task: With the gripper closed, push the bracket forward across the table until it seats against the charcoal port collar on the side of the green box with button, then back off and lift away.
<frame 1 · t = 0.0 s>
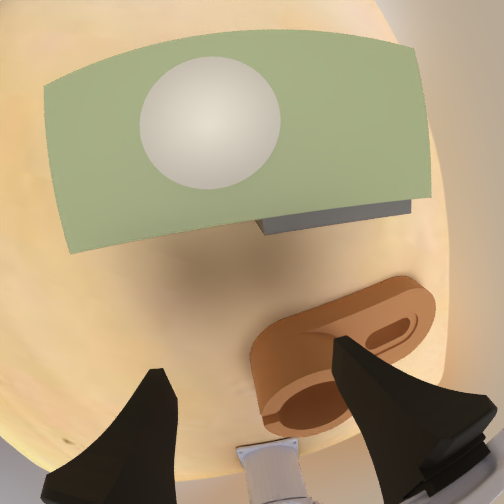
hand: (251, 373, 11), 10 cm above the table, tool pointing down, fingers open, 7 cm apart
green box with button: (242, 128, 17), on the table
bracket: (343, 331, 24), on the table
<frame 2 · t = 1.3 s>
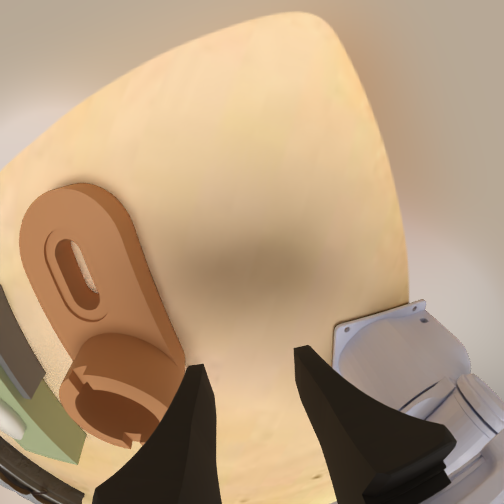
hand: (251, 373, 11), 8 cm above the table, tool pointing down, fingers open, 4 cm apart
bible: (28, 466, 29), on the table
green box with button: (11, 369, 19), on the table
bracket: (110, 302, 18), on the table
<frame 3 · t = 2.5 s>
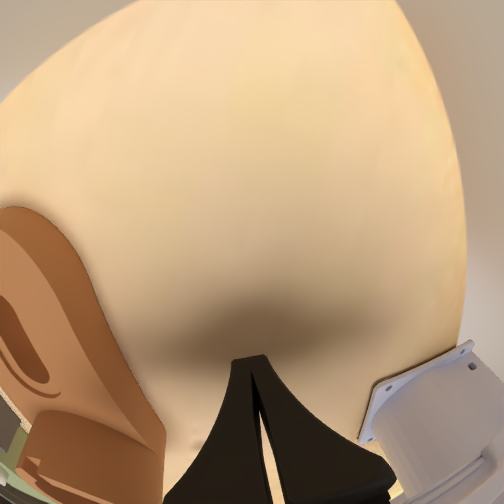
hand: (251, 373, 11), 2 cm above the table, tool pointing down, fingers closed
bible: (23, 487, 23), on the table
bracket: (69, 364, 12), on the table
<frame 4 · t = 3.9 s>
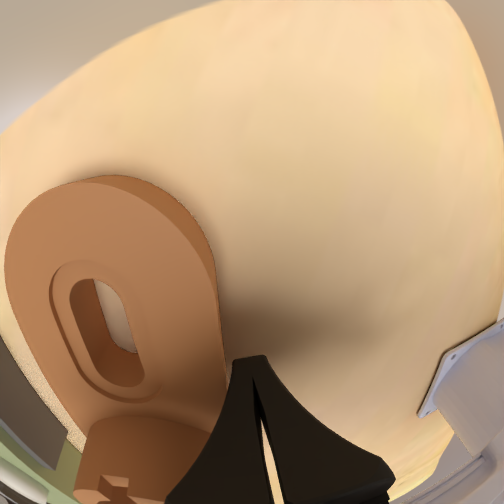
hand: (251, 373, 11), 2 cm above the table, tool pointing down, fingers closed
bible: (42, 495, 23), on the table
green box with button: (20, 420, 13), on the table
bracket: (143, 362, 12), on the table, touching gripper
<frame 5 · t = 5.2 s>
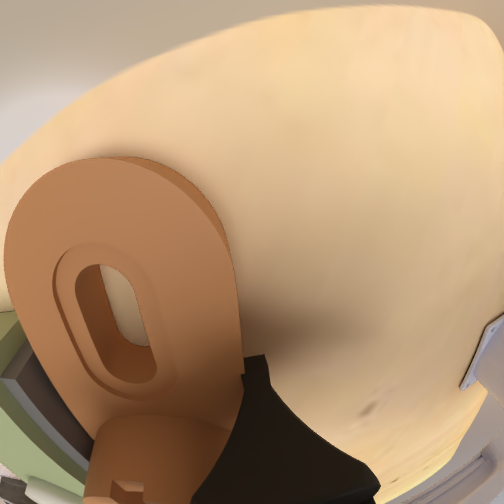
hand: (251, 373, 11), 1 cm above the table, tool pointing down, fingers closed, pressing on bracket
green box with button: (63, 435, 13), on the table
bracket: (152, 358, 12), on the table, touching gripper, green box with button
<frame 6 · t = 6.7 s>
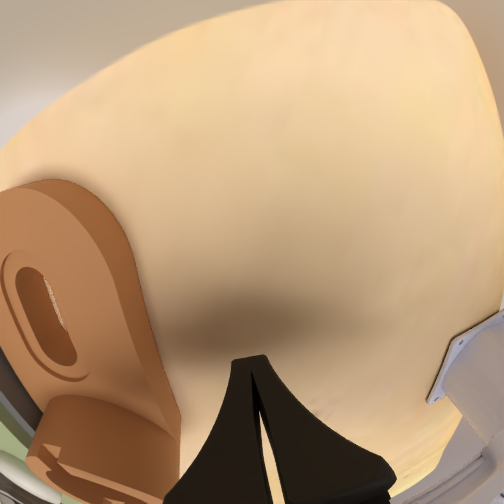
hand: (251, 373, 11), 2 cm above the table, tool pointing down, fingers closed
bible: (49, 496, 24), on the table
green box with button: (32, 417, 14), on the table
bracket: (90, 348, 12), on the table
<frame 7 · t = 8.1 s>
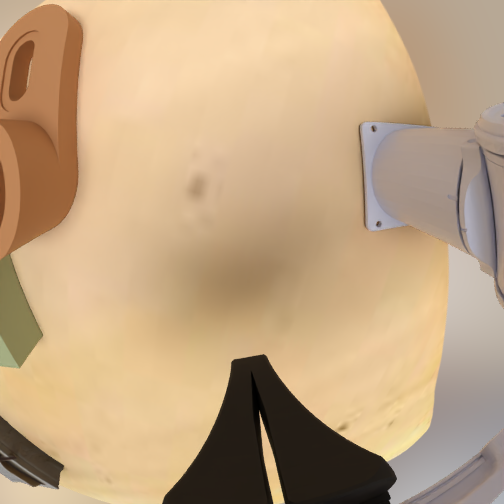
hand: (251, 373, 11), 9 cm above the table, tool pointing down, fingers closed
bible: (2, 430, 25), on the table
bracket: (36, 116, 13), on the table
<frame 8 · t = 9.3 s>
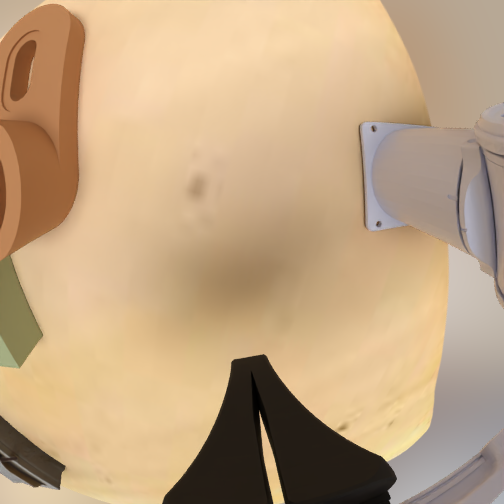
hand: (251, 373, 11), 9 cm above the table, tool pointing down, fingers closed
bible: (3, 430, 25), on the table
bracket: (37, 116, 14), on the table
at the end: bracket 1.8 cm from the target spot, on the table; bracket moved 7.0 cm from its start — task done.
